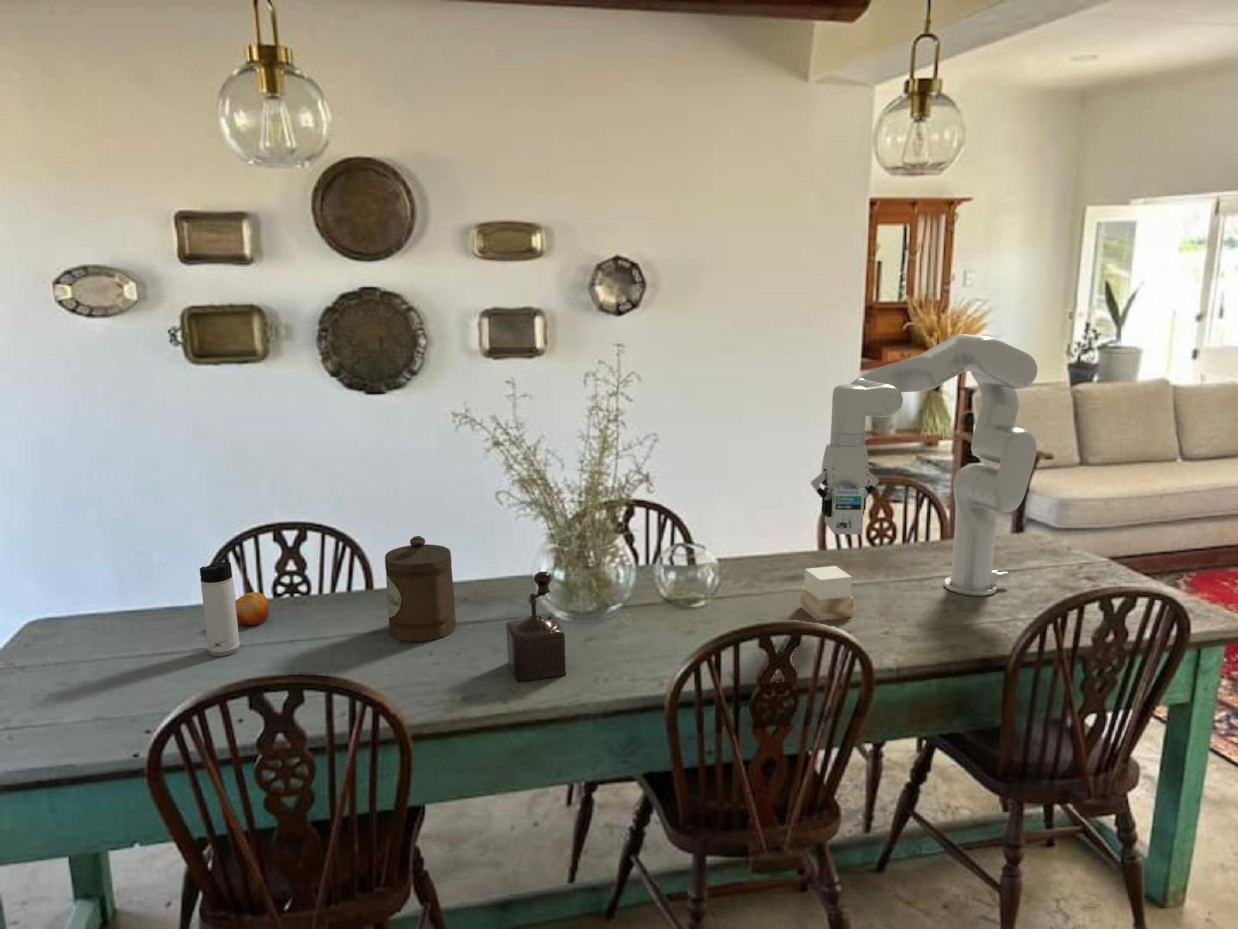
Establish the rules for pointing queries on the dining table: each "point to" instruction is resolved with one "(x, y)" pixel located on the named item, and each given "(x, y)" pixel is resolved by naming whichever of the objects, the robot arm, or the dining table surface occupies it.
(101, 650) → the dining table surface
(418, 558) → the wooden container
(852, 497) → the light bulb box
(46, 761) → the dining table surface
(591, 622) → the dining table surface
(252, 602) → the fruit
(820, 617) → the tower base
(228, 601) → the travel mug
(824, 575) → the tower top
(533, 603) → the manual coffee grinder
